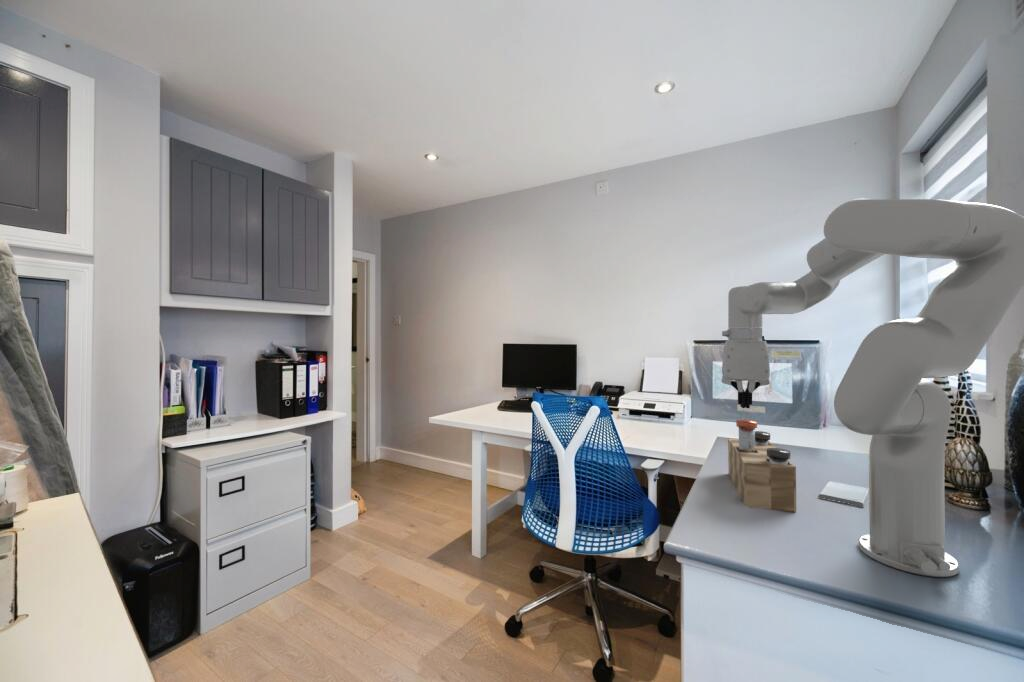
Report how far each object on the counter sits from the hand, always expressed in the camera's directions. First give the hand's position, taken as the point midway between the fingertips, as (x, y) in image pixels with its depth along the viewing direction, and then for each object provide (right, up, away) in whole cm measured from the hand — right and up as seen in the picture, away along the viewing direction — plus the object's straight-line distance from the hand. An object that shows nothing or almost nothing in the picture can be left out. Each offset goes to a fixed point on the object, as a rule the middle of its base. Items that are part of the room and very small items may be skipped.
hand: (744, 407), depth 105 cm
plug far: (+8, -20, +6) cm, 22 cm away
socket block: (+3, -21, -1) cm, 21 cm away
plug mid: (0, -15, 0) cm, 15 cm away
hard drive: (+21, -21, -5) cm, 31 cm away
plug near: (+2, -20, -10) cm, 23 cm away
